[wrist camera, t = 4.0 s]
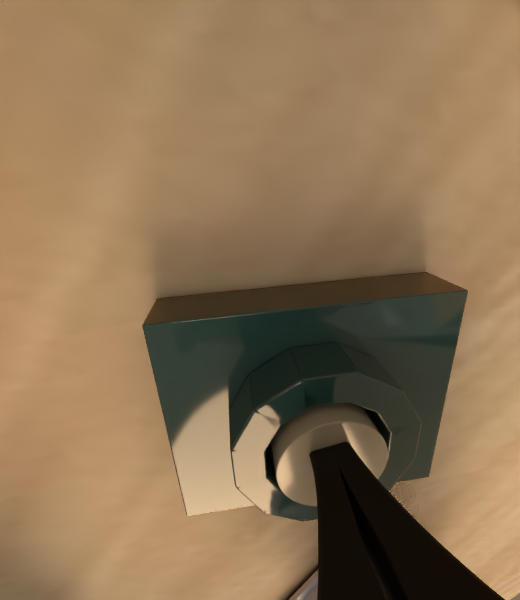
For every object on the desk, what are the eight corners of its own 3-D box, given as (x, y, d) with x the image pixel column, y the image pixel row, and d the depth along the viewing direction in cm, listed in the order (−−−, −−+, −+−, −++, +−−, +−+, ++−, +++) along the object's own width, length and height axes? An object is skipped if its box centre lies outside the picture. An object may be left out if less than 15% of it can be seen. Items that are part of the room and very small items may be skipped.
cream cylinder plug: (366, 376, 12) (394, 413, 10) (359, 452, 13) (383, 497, 11) (264, 389, 11) (273, 431, 9) (269, 465, 13) (278, 515, 11)
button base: (426, 271, 14) (517, 311, 9) (401, 438, 17) (458, 518, 13) (156, 298, 13) (124, 356, 8) (191, 469, 16) (181, 567, 12)
